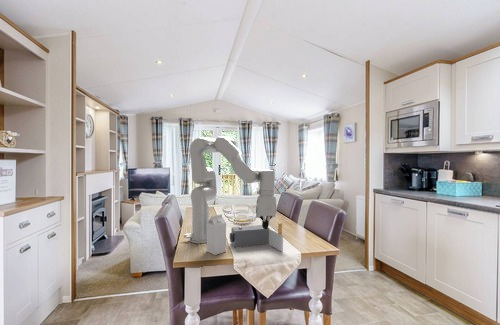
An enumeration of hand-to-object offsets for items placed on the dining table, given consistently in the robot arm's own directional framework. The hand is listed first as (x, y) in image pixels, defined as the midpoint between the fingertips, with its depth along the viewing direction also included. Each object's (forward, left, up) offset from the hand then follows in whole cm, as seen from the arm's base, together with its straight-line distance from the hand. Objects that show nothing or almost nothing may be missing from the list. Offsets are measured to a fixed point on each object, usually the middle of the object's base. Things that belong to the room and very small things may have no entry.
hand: (265, 228), depth 139 cm
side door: (+8, +3, -12) cm, 14 cm away
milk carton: (-24, +7, -12) cm, 28 cm away
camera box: (-3, +14, -12) cm, 19 cm away
